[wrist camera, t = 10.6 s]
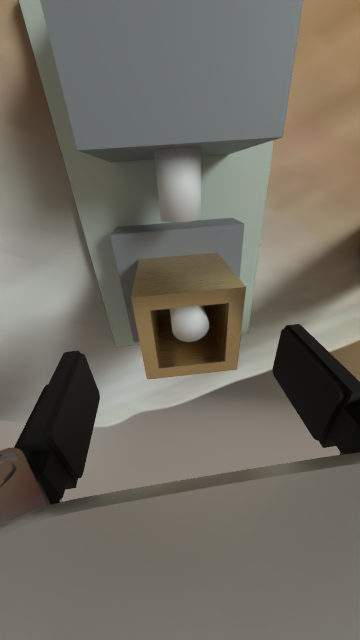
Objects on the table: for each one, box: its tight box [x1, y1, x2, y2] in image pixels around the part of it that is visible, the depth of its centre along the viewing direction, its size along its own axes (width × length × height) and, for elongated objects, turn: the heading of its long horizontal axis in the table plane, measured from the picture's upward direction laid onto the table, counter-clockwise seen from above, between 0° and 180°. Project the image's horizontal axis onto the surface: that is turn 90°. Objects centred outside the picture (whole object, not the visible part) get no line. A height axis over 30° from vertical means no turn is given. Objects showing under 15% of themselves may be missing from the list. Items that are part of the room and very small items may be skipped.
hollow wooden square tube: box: [131, 253, 246, 379], centre depth 15 cm, size 6×6×6 cm
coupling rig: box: [19, 0, 303, 347], centre depth 14 cm, size 14×23×9 cm, turn 4°
